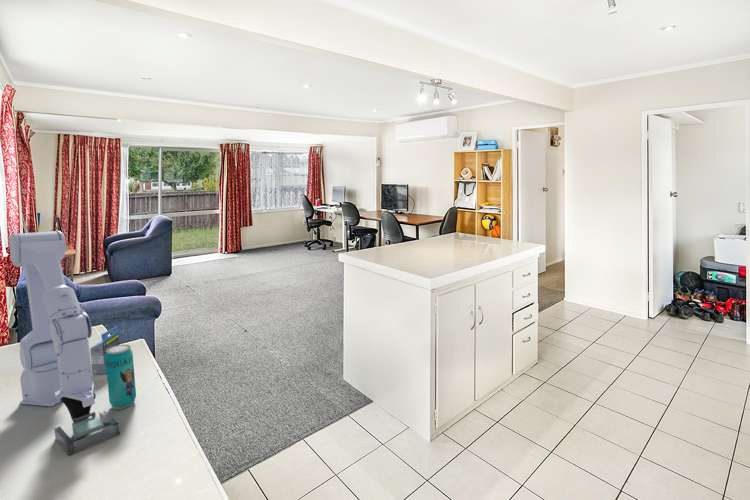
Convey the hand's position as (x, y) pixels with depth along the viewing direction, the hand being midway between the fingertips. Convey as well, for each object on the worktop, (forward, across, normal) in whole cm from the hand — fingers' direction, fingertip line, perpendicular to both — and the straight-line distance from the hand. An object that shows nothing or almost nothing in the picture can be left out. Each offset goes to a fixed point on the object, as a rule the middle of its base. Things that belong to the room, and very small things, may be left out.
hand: (81, 425), depth 91 cm
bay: (+1, +4, 0) cm, 4 cm away
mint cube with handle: (+1, +4, 0) cm, 4 cm away
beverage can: (+1, -4, +10) cm, 11 cm away
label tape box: (+1, -31, +16) cm, 35 cm away
